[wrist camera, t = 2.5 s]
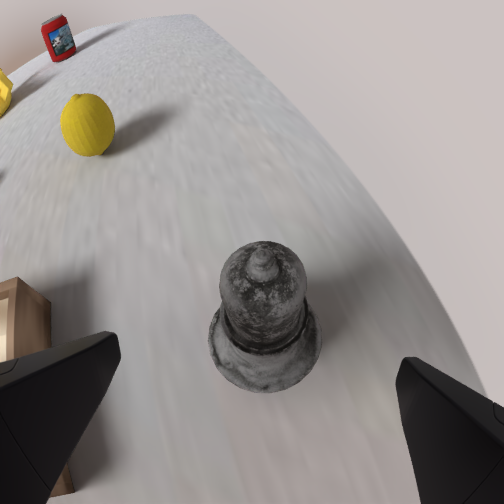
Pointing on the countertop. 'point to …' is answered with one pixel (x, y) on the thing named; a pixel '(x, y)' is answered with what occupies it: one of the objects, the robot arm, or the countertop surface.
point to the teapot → (4, 92)
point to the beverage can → (58, 38)
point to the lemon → (87, 124)
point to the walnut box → (27, 337)
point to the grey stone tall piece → (264, 320)
